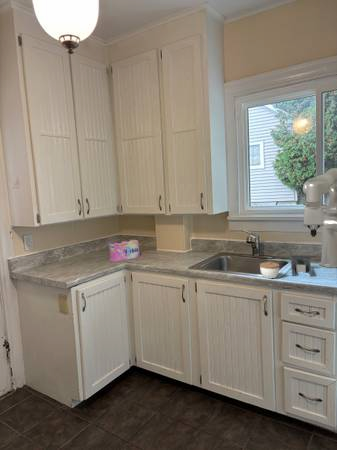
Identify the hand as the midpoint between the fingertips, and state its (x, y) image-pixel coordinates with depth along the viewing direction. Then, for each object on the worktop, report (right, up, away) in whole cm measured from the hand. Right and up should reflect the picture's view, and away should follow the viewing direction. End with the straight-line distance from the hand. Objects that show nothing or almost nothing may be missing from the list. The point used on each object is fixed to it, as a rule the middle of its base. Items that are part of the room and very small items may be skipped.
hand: (313, 236), depth 191 cm
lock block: (-3, -22, +12) cm, 25 cm away
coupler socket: (-4, -22, +8) cm, 24 cm away
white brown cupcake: (-25, -24, +2) cm, 35 cm away
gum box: (-117, -20, +69) cm, 137 cm away
